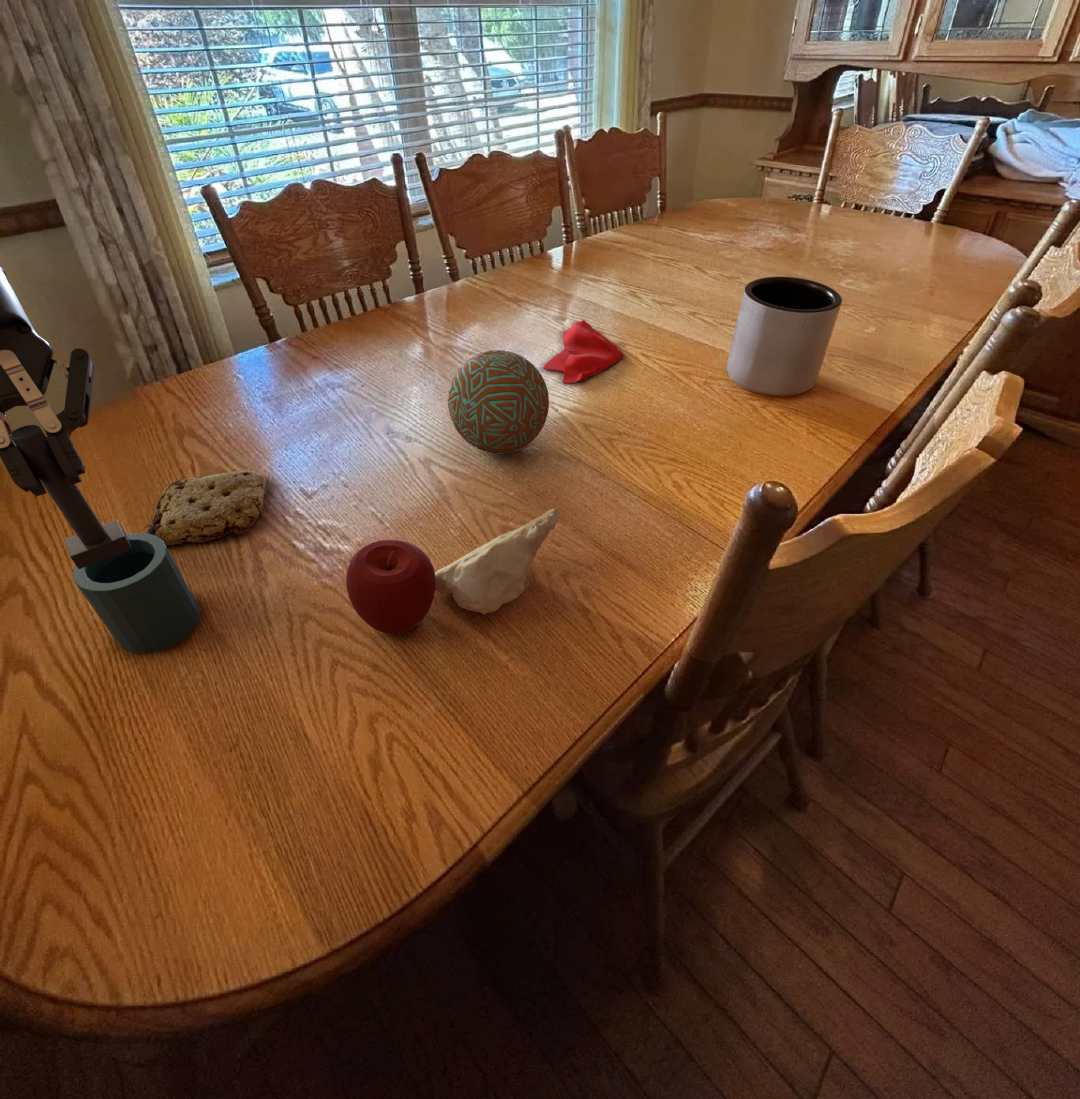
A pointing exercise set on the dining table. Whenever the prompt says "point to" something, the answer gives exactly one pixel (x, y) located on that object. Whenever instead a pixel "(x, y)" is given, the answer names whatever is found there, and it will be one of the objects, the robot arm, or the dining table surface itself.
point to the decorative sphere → (498, 401)
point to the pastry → (208, 507)
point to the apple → (391, 585)
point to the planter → (782, 335)
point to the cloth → (583, 353)
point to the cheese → (496, 567)
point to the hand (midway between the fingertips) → (57, 486)
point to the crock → (140, 596)
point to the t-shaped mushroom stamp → (70, 503)
